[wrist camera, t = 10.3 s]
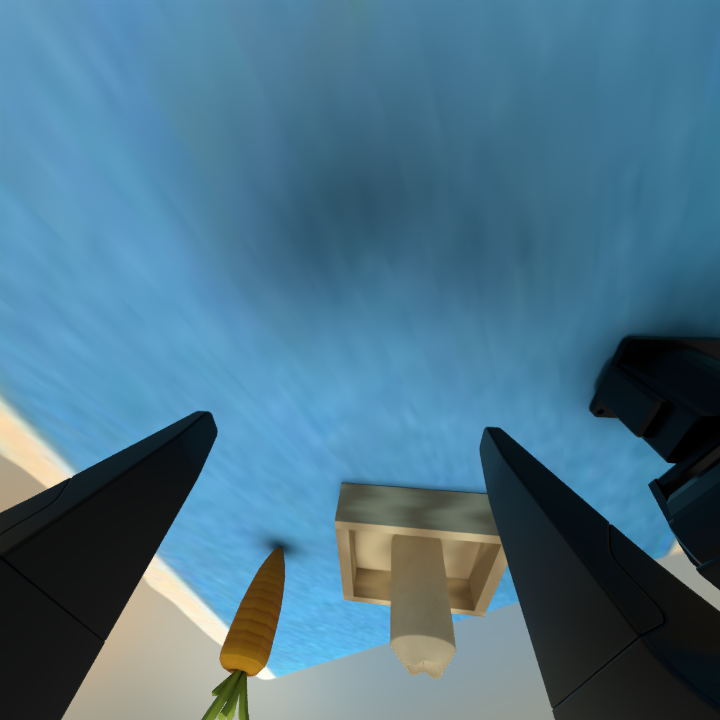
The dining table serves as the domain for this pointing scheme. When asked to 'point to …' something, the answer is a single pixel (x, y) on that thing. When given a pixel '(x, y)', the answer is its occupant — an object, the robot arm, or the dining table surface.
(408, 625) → the candle
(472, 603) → the box
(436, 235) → the dining table surface
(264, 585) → the carrot
